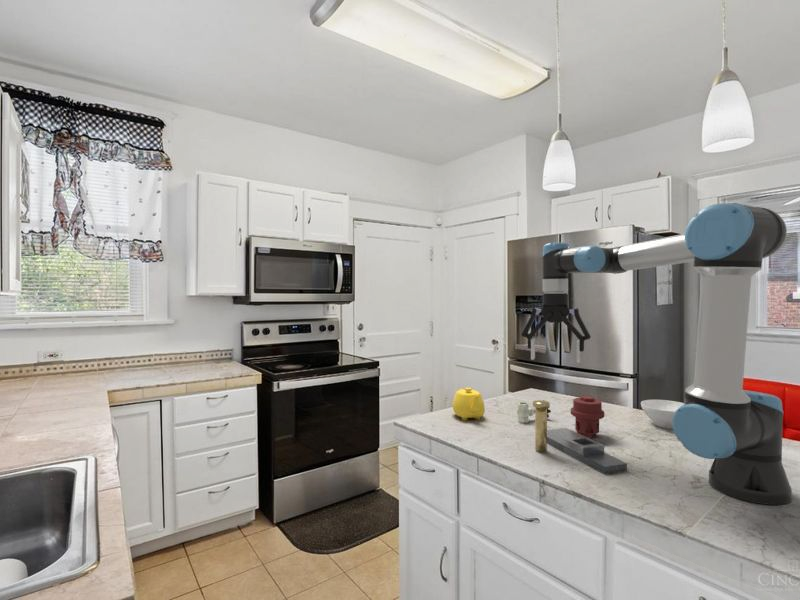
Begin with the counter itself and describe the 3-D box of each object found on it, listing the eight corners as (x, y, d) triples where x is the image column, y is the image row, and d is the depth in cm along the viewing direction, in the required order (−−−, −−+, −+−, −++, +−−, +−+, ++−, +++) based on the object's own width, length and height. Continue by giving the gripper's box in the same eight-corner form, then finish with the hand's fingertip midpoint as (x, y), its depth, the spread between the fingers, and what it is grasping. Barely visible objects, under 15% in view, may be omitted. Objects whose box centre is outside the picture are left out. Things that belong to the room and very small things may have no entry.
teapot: (493, 423, 154) (493, 393, 154) (464, 425, 152) (463, 395, 151) (473, 409, 172) (473, 382, 172) (446, 411, 169) (446, 384, 169)
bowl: (697, 436, 140) (697, 414, 140) (640, 428, 148) (640, 407, 148) (693, 422, 154) (693, 402, 153) (641, 416, 162) (641, 397, 161)
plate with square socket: (627, 471, 113) (627, 455, 113) (604, 474, 111) (604, 458, 111) (566, 440, 136) (566, 427, 136) (546, 443, 134) (546, 430, 134)
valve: (525, 425, 152) (550, 420, 158) (525, 406, 152) (551, 402, 157) (512, 420, 158) (537, 415, 164) (512, 402, 158) (537, 398, 163)
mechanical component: (600, 431, 145) (608, 441, 135) (568, 429, 147) (573, 439, 137) (600, 394, 145) (608, 401, 135) (568, 393, 147) (573, 400, 137)
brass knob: (552, 452, 126) (552, 403, 126) (539, 454, 125) (539, 405, 125) (543, 447, 131) (543, 399, 130) (529, 449, 129) (529, 401, 129)
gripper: (599, 292, 135) (599, 361, 136) (517, 292, 147) (517, 356, 147) (598, 292, 128) (597, 365, 129) (512, 293, 140) (512, 359, 140)
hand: (555, 360), depth 138 cm, fingers open, 13 cm apart
